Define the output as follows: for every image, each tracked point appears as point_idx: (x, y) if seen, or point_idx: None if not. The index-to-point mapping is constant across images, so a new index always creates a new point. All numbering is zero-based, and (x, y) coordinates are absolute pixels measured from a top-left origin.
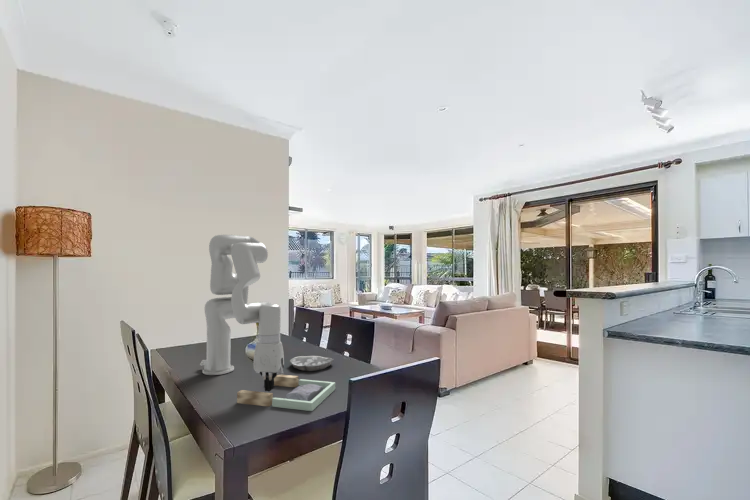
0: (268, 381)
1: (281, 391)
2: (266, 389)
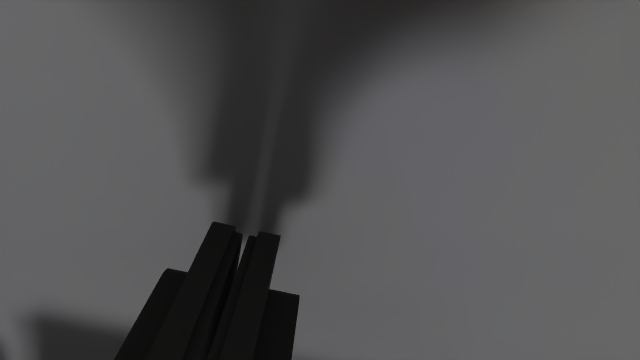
0: (160, 343)
1: (129, 296)
2: (248, 245)
